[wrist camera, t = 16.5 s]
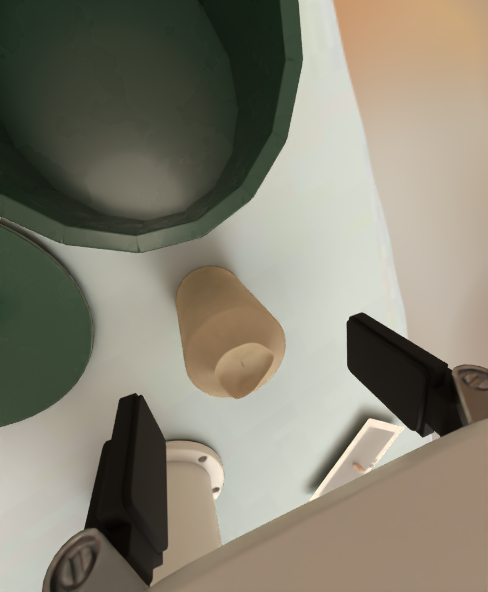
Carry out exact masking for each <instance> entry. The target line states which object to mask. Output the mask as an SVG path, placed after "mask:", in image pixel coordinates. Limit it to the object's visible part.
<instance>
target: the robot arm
mask: <svg viewBox="0 0 488 592" xmlns="http://www.w3.org/2000/svg"><path fill="white" fill-rule="evenodd" d="M347 366H348V369H349V370H350V372H351V373H352V374H353V375H354V376H355V377H356V378H357V379H358V380H359V381H360V382H361V383H362V384H363V385H365V386H366V387H367V388H368V389H369V390H370V391H371V392H372V393H373V394H374V395H375V396H376V397H377V398H378V399H379V400H380V401H381V402H382V403H383V404H384V405H385V406H386V407H387V408H388V409H389V410H390V411H391V412H392V413H394V414H395V415H396V416H397V417H398V418H399V419H400V420H401V421H402V422H403V423H404V424H405V425H406V426H407V427H408V428H409V429H410V430H412V431H416V432H417V433H418V434H419V435H420V436H421V437H425V436H427V435H429V434H431V433H433V432H434V431H435V432H436V433H438V434H439V435H440V438H438V439H436V440H434V441H432V442H430V443H428V444H426V445H424V446H422V447H419V448H417V449H415V450H413V451H411V452H409V453H407V454H405V455H403V456H401V457H399V458H397V459H395V460H393V461H391V462H389V463H387V464H385V465H383V466H381V467H379V468H376V469H374V470H372V471H370V472H368V473H366V474H364V475H362V476H360V477H358V478H356V479H354V480H352V481H350V482H348V483H346V484H344V485H342V486H340V487H338V488H336V489H334V490H332V491H330V492H328V493H326V494H324V495H322V496H320V497H318V498H316V499H314V500H312V501H310V502H308V503H306V504H304V505H302V506H300V507H298V508H296V509H294V510H292V511H290V512H288V513H286V514H284V515H282V516H280V517H278V518H276V519H274V520H272V521H270V522H268V523H266V524H264V525H262V526H260V527H258V528H256V529H254V530H252V531H250V532H248V533H246V534H244V535H242V536H240V537H238V538H236V539H234V540H232V541H230V542H228V543H227V544H225V545H223V546H222V543H221V537H220V532H219V526H218V520H217V515H216V509H215V503H214V501H215V500H216V499H217V497H218V496H219V494H220V492H221V490H222V487H223V484H224V470H223V465H222V462H221V460H220V458H219V456H218V455H217V454H216V452H215V451H213V450H212V449H211V448H209V447H207V446H205V445H203V444H200V443H196V442H191V441H168V442H165V438H164V436H163V434H162V432H161V430H160V428H159V426H158V424H157V423H156V421H155V419H154V417H153V415H152V413H151V411H150V409H149V407H148V405H147V403H146V401H145V399H144V397H143V396H142V395H139V396H138V395H137V394H136V393H134V394H131V395H128V396H126V397H123V398H120V400H119V404H118V409H117V414H116V419H115V424H114V429H113V434H112V439H111V440H108V441H106V442H105V443H104V445H103V448H102V453H101V457H100V462H99V466H98V470H97V475H96V479H95V484H94V488H93V492H92V497H91V501H90V506H89V510H88V515H87V519H86V523H85V528H84V530H82V531H80V532H78V533H77V534H75V535H74V536H72V537H71V538H70V539H69V540H68V541H67V542H66V543H65V544H64V545H63V546H62V547H61V548H60V550H59V551H58V552H57V554H56V555H55V556H54V558H53V560H52V562H51V564H50V565H49V567H48V569H47V572H46V575H45V578H44V580H43V588H42V592H488V369H487V368H484V367H481V366H475V365H460V366H457V367H455V368H454V369H453V370H451V369H449V368H448V364H447V363H445V362H443V361H442V360H440V359H438V358H437V357H435V356H434V355H432V354H430V353H429V352H427V351H425V350H424V349H422V348H420V347H419V346H417V345H415V344H414V343H412V342H411V341H409V340H407V339H406V338H404V337H402V336H401V335H399V334H398V333H396V332H394V331H393V330H391V329H389V328H388V327H386V326H384V325H383V324H381V323H380V322H378V321H376V320H375V319H373V318H371V317H370V316H368V315H366V314H365V313H358V314H356V315H353V316H350V317H349V320H348V321H347Z"/></svg>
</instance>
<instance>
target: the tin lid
mask: <svg viewBox="0 0 488 592" xmlns="http://www.w3.org/2000/svg"><path fill="white" fill-rule="evenodd" d="M93 338H94V330H93V321H92V317H91V313H90V309H89V306H88V304H87V302H86V299H85V297H84V295H83V293H82V292H81V290H80V288H79V287H78V285H77V283H76V282H75V281H74V279H73V278H72V277H71V276H70V274H69V273H68V272H67V271H66V269H65V268H64V267H63V266H62V265H61V264H60V263H59V262H58V261H57V260H56V259H55V258H54V257H53V256H51V255H50V254H49V253H48V252H46V251H45V250H44V249H42V248H41V247H40V246H39V245H37V244H36V243H34V242H33V241H31V240H30V239H28V238H26V237H25V236H23V235H22V234H20V233H18V232H17V231H15V230H13V229H11V228H9V227H7V226H5V225H3V224H1V223H0V427H3V426H6V425H9V424H13V423H16V422H19V421H22V420H24V419H27V418H29V417H32V416H34V415H36V414H38V413H40V412H41V411H43V410H45V409H47V408H48V407H50V406H51V405H53V404H54V403H56V402H57V401H59V400H60V399H61V398H62V397H63V396H64V395H66V394H67V393H68V392H69V391H70V390H71V389H72V387H73V386H74V385H75V384H76V383H77V382H78V380H79V378H80V377H81V375H82V374H83V372H84V370H85V368H86V366H87V363H88V361H89V359H90V356H91V352H92V348H93Z"/></svg>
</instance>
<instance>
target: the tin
mask: <svg viewBox="0 0 488 592" xmlns="http://www.w3.org/2000/svg"><path fill="white" fill-rule="evenodd" d="M302 61H303V54H302V41H301V28H300V15H299V2H298V0H0V216H1V217H4V218H6V219H8V220H10V221H12V222H15V223H17V224H19V225H21V226H23V227H25V228H28V229H30V230H32V231H34V232H36V233H39V234H41V235H43V236H45V237H47V238H50V239H52V240H54V241H56V242H58V243H63V244H65V245H72V246H80V247H89V248H98V249H107V250H115V251H124V252H133V253H139V252H140V253H143V252H147V251H151V250H155V249H159V248H163V247H166V246H170V245H174V244H178V243H182V242H186V241H190V240H193V239H197V238H201V237H203V236H205V235H206V234H208V233H209V232H210V231H211V230H213V229H214V228H215V227H217V226H218V225H219V224H221V223H222V222H223V221H224V220H226V219H227V218H228V217H230V216H231V215H232V214H234V213H235V212H236V211H237V210H239V209H240V208H241V207H243V206H244V205H245V204H247V203H248V202H249V201H250V200H251V198H253V197H254V196H255V194H256V192H257V190H258V189H259V187H260V185H261V184H262V182H263V180H264V179H265V177H266V175H267V173H268V172H269V170H270V168H271V167H272V165H273V163H274V162H275V160H276V158H277V156H278V155H279V153H280V151H281V150H282V148H283V146H284V145H285V143H286V140H287V137H288V132H289V127H290V122H291V117H292V112H293V107H294V103H295V98H296V93H297V88H298V83H299V78H300V73H301V68H302Z"/></svg>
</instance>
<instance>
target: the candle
mask: <svg viewBox="0 0 488 592" xmlns="http://www.w3.org/2000/svg"><path fill="white" fill-rule="evenodd" d="M176 307H177V314H178V321H179V327H180V334H181V341H182V347H183V354H184V361H185V367H186V371H187V374H188V376H189V378H190V380H191V381H192V383H193V384H194V385H195V386H196V387H197V388H198V389H200V390H201V391H203V392H205V393H207V394H209V395H213V396H217V397H231V398H235V399H239V398H242V397H244V396H246V395H248V394H249V393H251V392H253V391H255V390H257V389H258V388H260V387H261V386H262V385H264V384H265V383H266V382H267V381H268V380H269V379H270V378H271V377H272V376H273V375H274V374H275V372H276V371H277V369H278V368H279V366H280V364H281V362H282V359H283V357H284V353H285V346H286V345H285V335H284V332H283V329H282V327H281V325H280V324H279V322H278V321H277V320H276V319H275V318H274V317H273V316H272V315H271V313H270V312H269V311H268V310H267V309H266V308H265V307H264V306H263V305H262V304H261V303H260V302H259V301H258V300H257V299H256V298H255V296H254V295H253V294H252V293H251V292H250V291H249V290H248V289H247V288H246V287H245V286H244V285H243V284H242V283H241V282H240V281H239V280H238V279H237V278H236V277H235V276H234V275H233V274H232V273H231V272H229V271H228V270H226V269H223V268H220V267H215V266H207V267H202V268H199V269H196V270H194V271H192V272H191V273H190V274H188V275H187V276H186V277H185V278H184V279H183V281H182V282H181V284H180V286H179V288H178V291H177V295H176Z"/></svg>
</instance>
